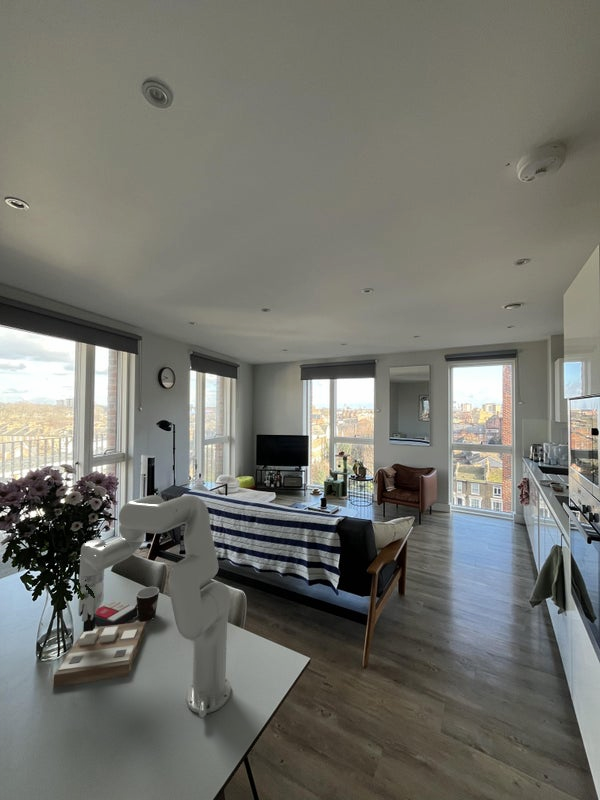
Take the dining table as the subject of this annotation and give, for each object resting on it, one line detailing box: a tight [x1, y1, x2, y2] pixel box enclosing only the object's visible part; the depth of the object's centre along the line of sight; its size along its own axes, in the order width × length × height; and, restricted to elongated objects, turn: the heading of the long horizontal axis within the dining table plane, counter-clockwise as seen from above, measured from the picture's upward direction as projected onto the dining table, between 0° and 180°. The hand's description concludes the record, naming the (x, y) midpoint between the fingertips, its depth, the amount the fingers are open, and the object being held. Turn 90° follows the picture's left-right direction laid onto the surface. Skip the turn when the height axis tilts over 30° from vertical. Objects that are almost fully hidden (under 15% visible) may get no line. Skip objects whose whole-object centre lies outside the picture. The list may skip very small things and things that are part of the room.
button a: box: [120, 629, 137, 640], centre depth 116 cm, size 4×4×4 cm
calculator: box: [94, 599, 138, 627], centre depth 131 cm, size 11×4×15 cm
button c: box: [79, 629, 98, 646], centre depth 113 cm, size 4×4×4 cm
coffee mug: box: [134, 586, 160, 622], centre depth 131 cm, size 12×9×10 cm
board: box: [53, 621, 146, 688], centre depth 111 cm, size 22×21×4 cm
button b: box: [100, 626, 118, 643], centre depth 115 cm, size 4×4×4 cm
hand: (89, 629), depth 114 cm, fingers closed
